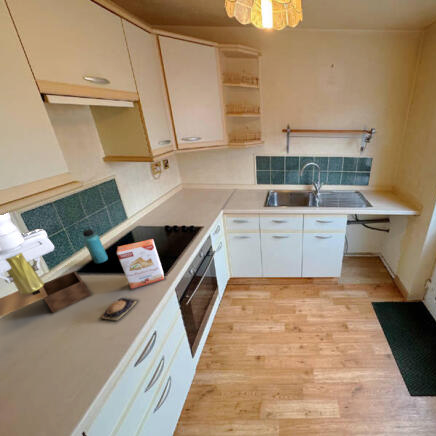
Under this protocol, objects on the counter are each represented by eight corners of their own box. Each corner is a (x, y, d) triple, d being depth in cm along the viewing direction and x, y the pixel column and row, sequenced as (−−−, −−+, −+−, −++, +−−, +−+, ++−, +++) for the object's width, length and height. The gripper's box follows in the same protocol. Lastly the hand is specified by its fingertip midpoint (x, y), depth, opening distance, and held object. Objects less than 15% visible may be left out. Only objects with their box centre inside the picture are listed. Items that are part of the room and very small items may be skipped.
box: (53, 313, 94) (43, 298, 91) (46, 299, 101) (37, 285, 98) (90, 295, 103) (83, 281, 100) (82, 283, 110) (75, 270, 107)
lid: (0, 316, 83) (-5, 310, 81) (-3, 301, 89) (-8, 295, 88) (47, 296, 92) (44, 290, 90) (41, 283, 98) (38, 277, 97)
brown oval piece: (117, 322, 90) (114, 315, 88) (99, 318, 92) (96, 312, 90) (138, 301, 100) (136, 295, 98) (122, 299, 101) (119, 292, 99)
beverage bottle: (111, 257, 129) (97, 226, 121) (106, 264, 124) (92, 232, 115) (97, 260, 127) (83, 228, 119) (92, 267, 122) (76, 234, 113)
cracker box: (131, 290, 106) (115, 252, 97) (131, 282, 111) (117, 246, 102) (164, 279, 112) (152, 243, 103) (164, 272, 117) (152, 237, 108)
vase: (40, 290, 79) (19, 257, 73) (15, 297, 77) (-9, 262, 70) (47, 280, 84) (27, 247, 78) (24, 285, 81) (2, 252, 75)
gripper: (37, 225, 82) (54, 257, 88) (-55, 256, 64) (-26, 293, 70) (48, 227, 80) (65, 260, 86) (-44, 261, 62) (-14, 298, 68)
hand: (24, 275), depth 78 cm, fingers closed on vase, 5 cm apart
